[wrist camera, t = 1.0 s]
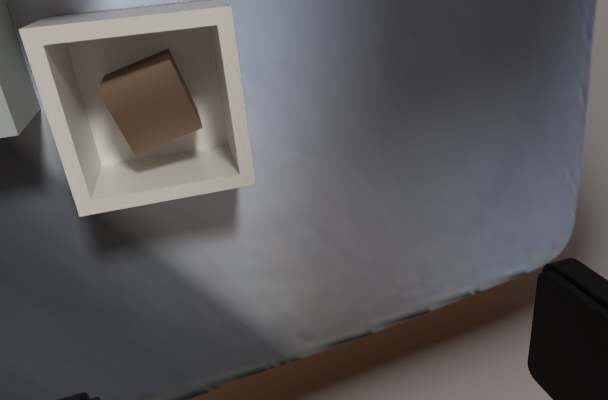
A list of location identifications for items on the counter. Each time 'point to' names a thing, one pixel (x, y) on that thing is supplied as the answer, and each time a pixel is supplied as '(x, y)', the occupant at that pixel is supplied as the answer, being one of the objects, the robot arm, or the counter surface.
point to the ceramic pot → (101, 125)
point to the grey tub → (14, 81)
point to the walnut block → (150, 102)
